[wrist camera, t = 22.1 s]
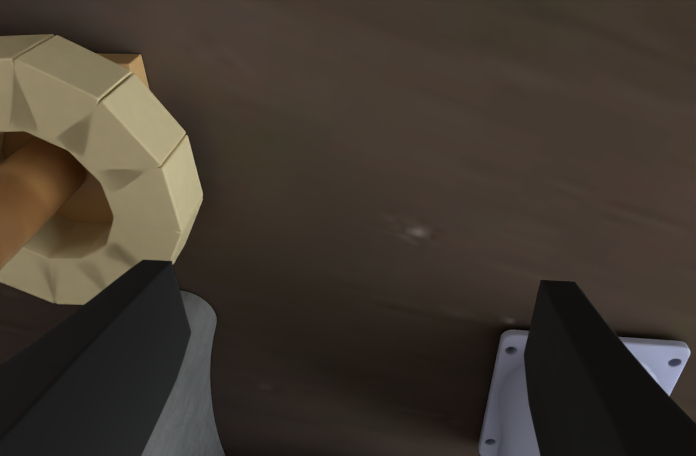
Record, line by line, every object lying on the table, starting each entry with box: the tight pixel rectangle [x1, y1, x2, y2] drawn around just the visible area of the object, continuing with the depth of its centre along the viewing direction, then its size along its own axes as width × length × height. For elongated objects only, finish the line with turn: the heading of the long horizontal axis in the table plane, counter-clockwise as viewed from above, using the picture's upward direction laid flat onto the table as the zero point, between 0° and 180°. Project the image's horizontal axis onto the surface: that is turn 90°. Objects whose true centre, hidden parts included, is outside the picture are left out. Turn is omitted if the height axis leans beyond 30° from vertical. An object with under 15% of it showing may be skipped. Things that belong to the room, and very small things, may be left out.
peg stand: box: [0, 53, 149, 270], centre depth 20 cm, size 8×8×6 cm
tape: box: [0, 34, 203, 305], centre depth 20 cm, size 10×10×2 cm
